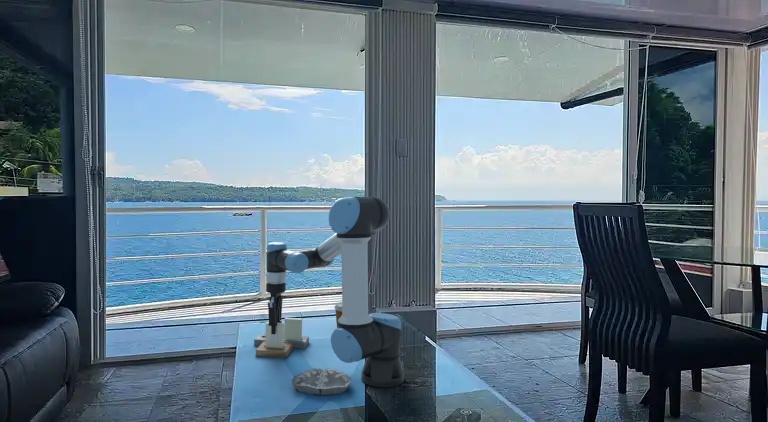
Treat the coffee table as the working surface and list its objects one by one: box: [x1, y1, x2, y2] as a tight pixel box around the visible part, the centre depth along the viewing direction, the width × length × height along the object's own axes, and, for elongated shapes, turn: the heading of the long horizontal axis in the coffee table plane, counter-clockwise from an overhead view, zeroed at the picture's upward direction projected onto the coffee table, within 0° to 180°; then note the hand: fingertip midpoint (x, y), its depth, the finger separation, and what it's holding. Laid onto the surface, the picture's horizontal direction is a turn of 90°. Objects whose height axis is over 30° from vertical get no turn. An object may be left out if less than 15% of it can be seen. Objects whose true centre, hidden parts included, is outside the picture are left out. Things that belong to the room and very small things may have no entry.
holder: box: [255, 341, 294, 359], centre depth 207 cm, size 10×12×2 cm
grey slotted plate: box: [253, 332, 310, 350], centre depth 217 cm, size 8×21×2 cm, turn 85°
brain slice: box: [291, 368, 352, 396], centre depth 177 cm, size 20×17×3 cm
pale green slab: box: [265, 321, 285, 348], centre depth 206 cm, size 2×7×11 cm, turn 85°
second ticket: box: [284, 317, 303, 340], centre depth 216 cm, size 2×7×11 cm, turn 85°
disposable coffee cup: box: [334, 301, 342, 329], centre depth 238 cm, size 10×10×12 cm
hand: (274, 340), depth 206 cm, fingers closed on pale green slab, 2 cm apart
